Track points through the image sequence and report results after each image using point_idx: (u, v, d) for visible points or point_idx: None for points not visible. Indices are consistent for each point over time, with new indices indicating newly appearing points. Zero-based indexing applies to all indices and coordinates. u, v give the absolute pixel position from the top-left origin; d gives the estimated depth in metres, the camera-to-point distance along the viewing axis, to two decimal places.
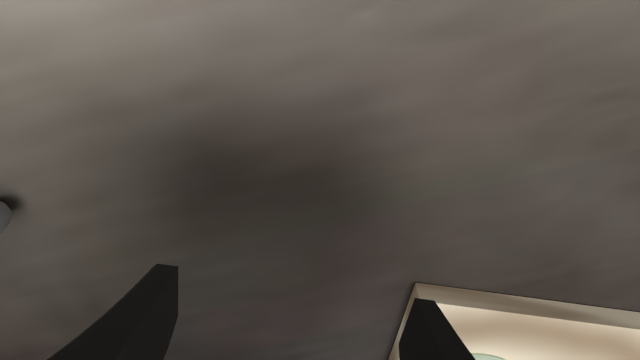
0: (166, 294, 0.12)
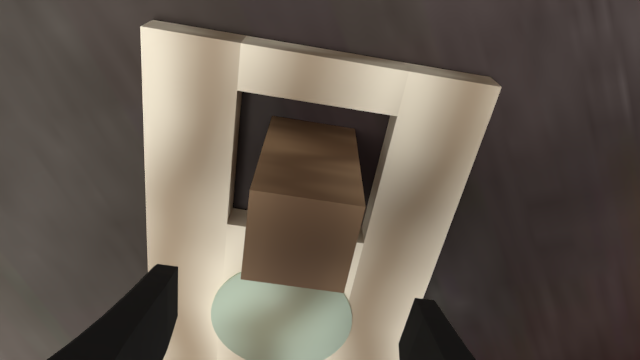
0: (166, 294, 0.12)
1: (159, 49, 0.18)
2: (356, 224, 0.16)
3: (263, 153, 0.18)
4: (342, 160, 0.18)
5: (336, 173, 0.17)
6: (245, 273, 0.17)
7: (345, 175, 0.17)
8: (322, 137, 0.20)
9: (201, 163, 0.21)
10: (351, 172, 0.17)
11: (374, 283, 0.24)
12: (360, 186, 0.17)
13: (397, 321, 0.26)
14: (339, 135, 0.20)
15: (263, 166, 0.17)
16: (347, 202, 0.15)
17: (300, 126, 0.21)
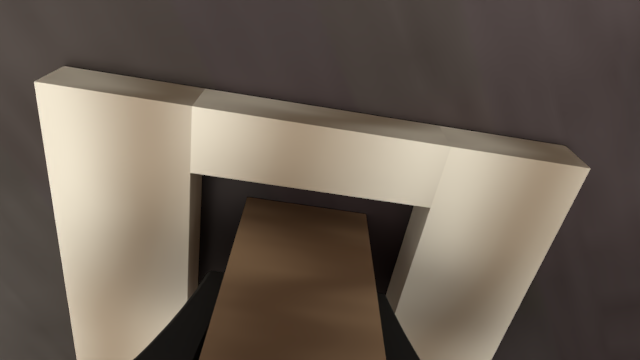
0: None
1: (67, 115, 0.12)
2: None
3: (226, 283, 0.11)
4: (349, 286, 0.12)
5: (340, 320, 0.11)
6: None
7: (355, 324, 0.11)
8: (319, 236, 0.13)
9: (144, 268, 0.14)
10: (365, 315, 0.11)
11: None
12: (380, 350, 0.10)
13: None
14: (343, 230, 0.14)
15: (221, 317, 0.10)
16: None
17: (287, 216, 0.14)
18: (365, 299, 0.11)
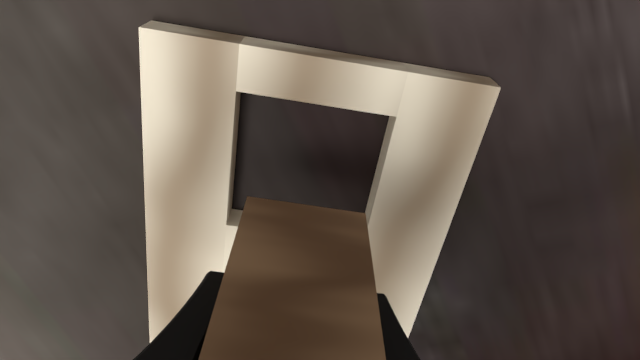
0: None
1: (158, 50, 0.18)
2: None
3: (226, 282, 0.11)
4: (349, 285, 0.12)
5: (340, 319, 0.11)
6: None
7: (355, 323, 0.11)
8: (319, 235, 0.14)
9: (200, 164, 0.21)
10: (365, 314, 0.11)
11: None
12: (380, 348, 0.10)
13: None
14: (343, 229, 0.14)
15: (222, 316, 0.10)
16: None
17: (287, 215, 0.14)
18: (365, 298, 0.11)
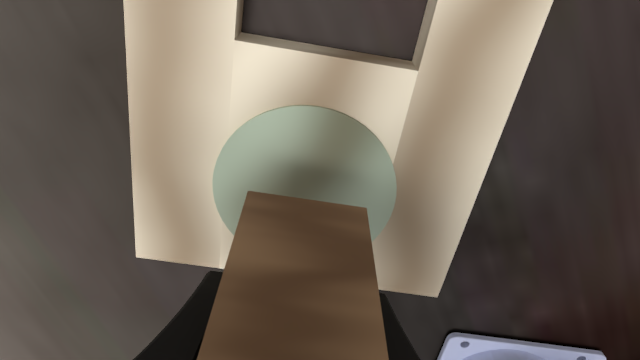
0: None
1: None
2: None
3: (226, 274, 0.11)
4: (350, 278, 0.12)
5: (341, 311, 0.11)
6: None
7: (357, 316, 0.11)
8: (320, 229, 0.13)
9: None
10: (366, 306, 0.11)
11: (428, 136, 0.18)
12: (382, 341, 0.10)
13: (454, 196, 0.20)
14: (344, 223, 0.14)
15: (222, 307, 0.10)
16: None
17: (288, 209, 0.14)
18: (366, 291, 0.11)
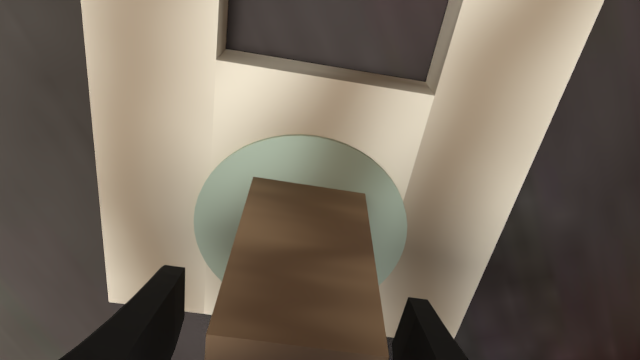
0: (174, 295, 0.12)
1: None
2: None
3: (235, 250, 0.12)
4: (349, 255, 0.13)
5: (341, 284, 0.12)
6: None
7: (355, 287, 0.12)
8: (321, 212, 0.14)
9: None
10: (364, 280, 0.12)
11: (445, 169, 0.16)
12: (378, 309, 0.11)
13: (473, 236, 0.17)
14: (344, 207, 0.15)
15: (232, 279, 0.11)
16: (360, 348, 0.10)
17: (291, 193, 0.15)
18: (364, 266, 0.12)
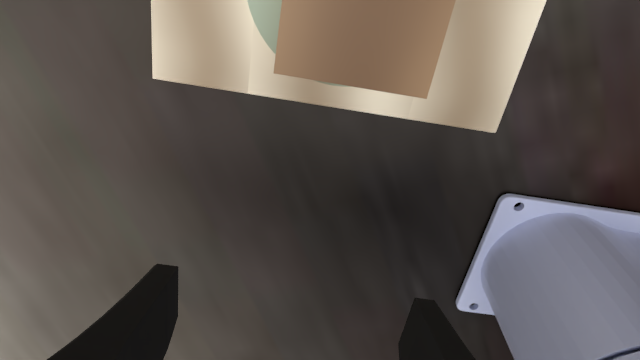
0: (166, 294, 0.12)
1: None
2: None
3: None
4: None
5: None
6: (281, 61, 0.11)
7: None
8: None
9: None
10: None
11: None
12: None
13: None
14: None
15: None
16: None
17: None
18: None
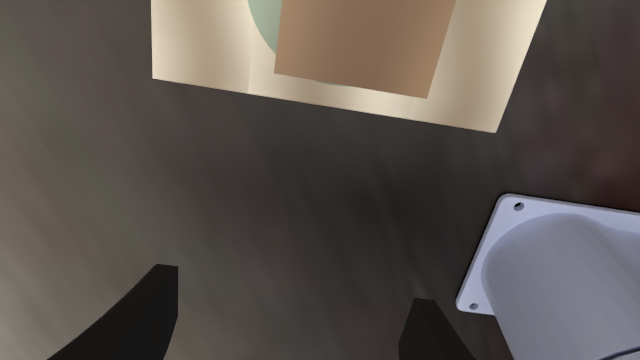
0: (166, 294, 0.12)
1: None
2: None
3: None
4: None
5: None
6: (281, 61, 0.11)
7: None
8: None
9: None
10: None
11: None
12: None
13: None
14: None
15: None
16: None
17: None
18: None
